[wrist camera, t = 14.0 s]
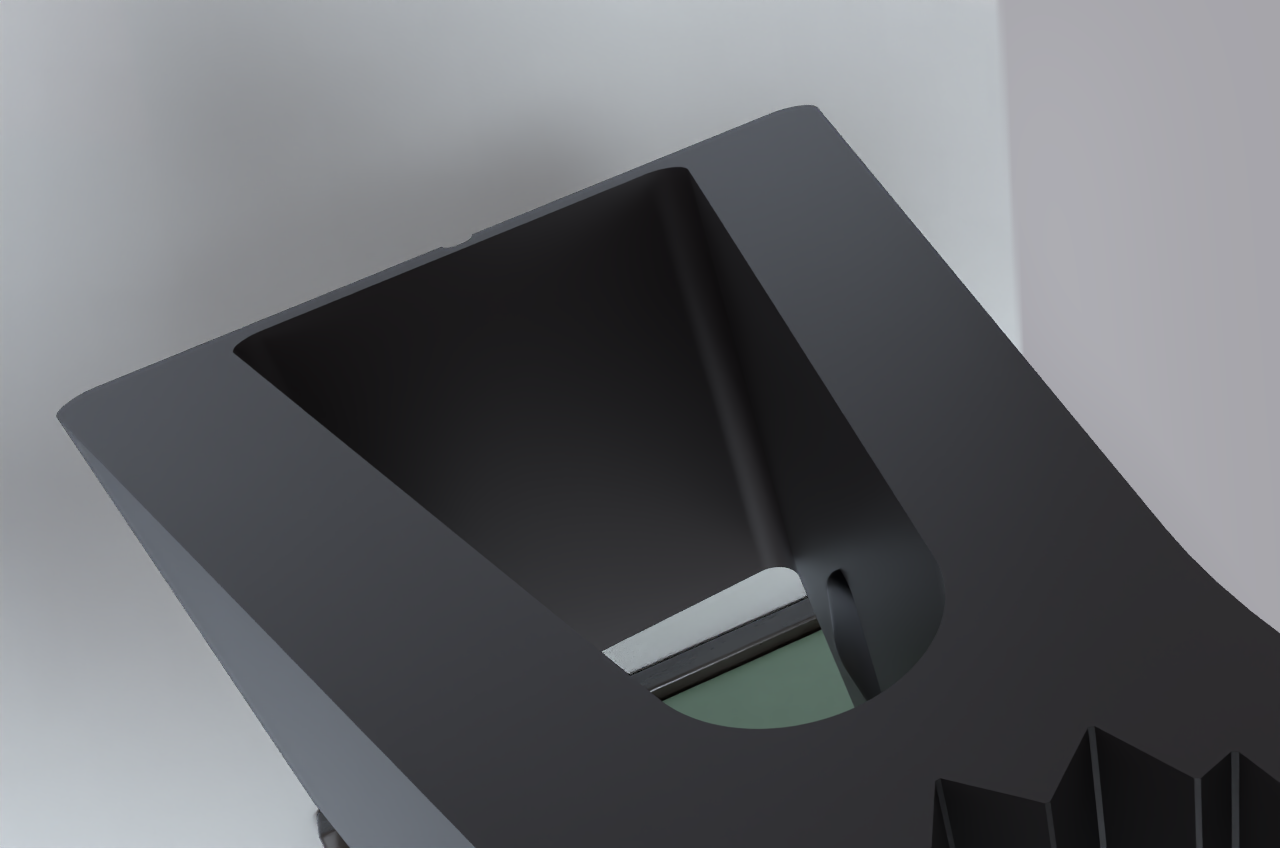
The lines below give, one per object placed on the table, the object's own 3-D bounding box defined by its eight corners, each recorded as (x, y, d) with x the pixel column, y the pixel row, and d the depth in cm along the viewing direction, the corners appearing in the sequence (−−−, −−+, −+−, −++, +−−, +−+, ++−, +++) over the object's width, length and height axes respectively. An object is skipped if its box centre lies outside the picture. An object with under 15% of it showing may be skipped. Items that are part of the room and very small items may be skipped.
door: (854, 607, 26) (1146, 889, 18) (859, 638, 26) (1145, 926, 18) (588, 727, 24) (776, 1099, 16) (597, 757, 24) (785, 1134, 16)
